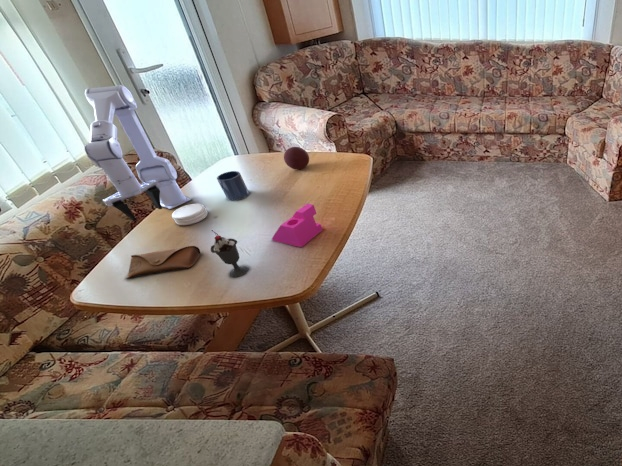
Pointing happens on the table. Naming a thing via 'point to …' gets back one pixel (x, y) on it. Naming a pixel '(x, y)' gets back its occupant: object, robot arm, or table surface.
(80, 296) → the table surface
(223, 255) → the sundae
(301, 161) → the decorative ball
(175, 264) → the sunglasses case
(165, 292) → the table surface
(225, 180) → the cup
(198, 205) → the white round dish
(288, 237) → the bracket
